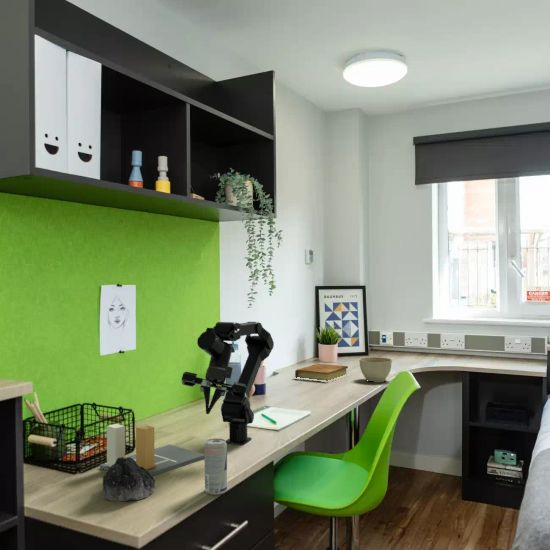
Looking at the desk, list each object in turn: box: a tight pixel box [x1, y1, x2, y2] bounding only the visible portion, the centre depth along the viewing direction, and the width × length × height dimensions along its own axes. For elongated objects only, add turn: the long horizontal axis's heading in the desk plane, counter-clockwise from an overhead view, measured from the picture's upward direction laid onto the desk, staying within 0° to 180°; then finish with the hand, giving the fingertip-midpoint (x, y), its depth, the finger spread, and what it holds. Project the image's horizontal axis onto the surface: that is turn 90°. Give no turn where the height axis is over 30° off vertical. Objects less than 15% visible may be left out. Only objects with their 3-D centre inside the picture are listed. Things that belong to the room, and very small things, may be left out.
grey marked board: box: [99, 444, 205, 477], centre depth 157 cm, size 24×16×1 cm, turn 140°
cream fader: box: [104, 423, 126, 467], centre depth 151 cm, size 4×5×10 cm
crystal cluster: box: [102, 456, 156, 502], centre depth 135 cm, size 13×14×10 cm
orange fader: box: [135, 424, 157, 470], centre depth 150 cm, size 4×5×10 cm
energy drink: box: [204, 438, 228, 496], centre depth 136 cm, size 5×5×12 cm
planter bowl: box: [358, 356, 393, 383], centre depth 280 cm, size 16×16×11 cm
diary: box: [294, 363, 349, 381], centre depth 291 cm, size 23×19×6 cm
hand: (207, 413), depth 160 cm, fingers closed
